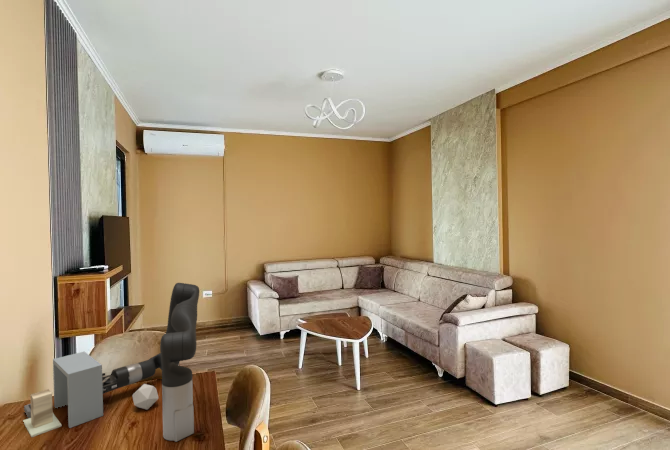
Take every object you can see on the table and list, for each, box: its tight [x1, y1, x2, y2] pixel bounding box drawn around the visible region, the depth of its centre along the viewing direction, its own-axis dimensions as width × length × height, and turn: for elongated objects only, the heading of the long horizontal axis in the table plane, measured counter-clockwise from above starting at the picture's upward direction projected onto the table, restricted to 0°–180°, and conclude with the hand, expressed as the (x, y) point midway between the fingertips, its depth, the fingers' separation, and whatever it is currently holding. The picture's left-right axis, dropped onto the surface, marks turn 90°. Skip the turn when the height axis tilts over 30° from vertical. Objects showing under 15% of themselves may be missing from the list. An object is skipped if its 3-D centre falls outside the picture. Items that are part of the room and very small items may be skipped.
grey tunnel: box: [52, 351, 104, 429], centre depth 132 cm, size 21×10×18 cm, turn 50°
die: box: [132, 383, 159, 411], centre depth 135 cm, size 8×9×10 cm
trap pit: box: [23, 403, 31, 419], centre depth 133 cm, size 7×7×2 cm
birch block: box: [29, 388, 54, 428], centre depth 124 cm, size 5×5×10 cm
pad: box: [22, 413, 62, 438], centre depth 124 cm, size 14×8×1 cm, turn 50°
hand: (79, 390), depth 133 cm, fingers open, 8 cm apart
